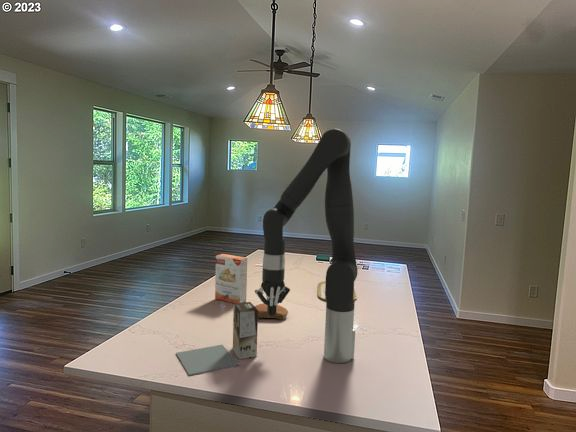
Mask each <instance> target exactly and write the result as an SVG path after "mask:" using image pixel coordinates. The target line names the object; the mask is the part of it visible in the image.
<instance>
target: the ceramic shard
mask: <svg viewBox="0 0 576 432" xmlns="http://www.w3.org/2000/svg"><path fill="white" fill-rule="evenodd" d="M254 306H255V307H256V309H257V310H258V319H259V318H260V319H261V318H262V319H263V318H264V319H265V318H267V319H270V318H271V319H277V320H283V321H284V320H285V319H286V318H287V315H288V314H289V311H288V309H287V308H285V307H283V306H281V305H279V304H277V307H276V314H275V316H270V315H269V314H268V313H267V305H266V304H264V303H263V302H262V303H259V304H256V305H254Z"/></svg>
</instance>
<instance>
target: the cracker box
mask: <svg viewBox="0 0 576 432" xmlns="http://www.w3.org/2000/svg"><path fill="white" fill-rule="evenodd" d="M214 278H215V279H214V281H215V283H214V284H215V285H214V287H215V288H214V289H215V290H214V292H215V293H214V299H216V300H219V301H223V302H228V303H232V304H235V303H243V302H247V287H248V284H247V283H248V257H244V256H239V255H238V256H237V255H233V254H225V253H221V254H216V255H215V277H214Z"/></svg>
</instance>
